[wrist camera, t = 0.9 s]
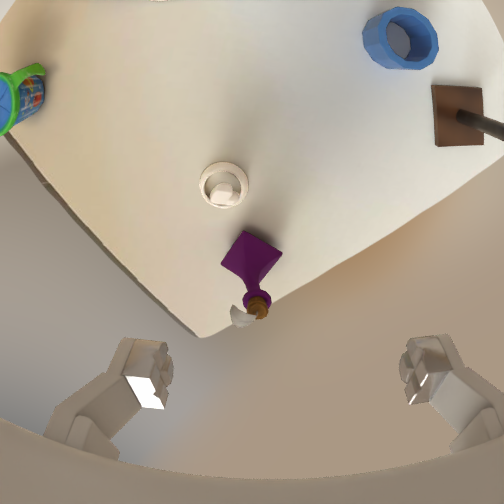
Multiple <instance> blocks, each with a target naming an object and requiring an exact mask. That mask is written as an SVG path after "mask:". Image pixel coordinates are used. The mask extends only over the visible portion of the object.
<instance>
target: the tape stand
mask: <svg viewBox="0 0 504 504" xmlns="http://www.w3.org/2000/svg"><path fill="white" fill-rule="evenodd" d="M431 89H432V100H433V112H434V129H435V145H436V146H438V147H444V146H467V145H484V133H486V134H488V135H491V136H493V137H495V138H498V139H500V140H502V141H504V123H501V122H499V121H496V120H493V119H490V118H487V117H484V116H483V96H482V88H478V87H465V86H445V85H431Z"/></svg>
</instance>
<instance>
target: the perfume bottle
mask: <svg viewBox="0 0 504 504" xmlns="http://www.w3.org/2000/svg"><path fill="white" fill-rule="evenodd" d="M282 254H283V253H282V252H281V251H279V250H277V249H276V248H274V247H272V246H270V245H269V244H267V243H265V242H263V241H262V240H260V239H258V238H256V237H255V236H253V235H251V234H249V233H248V232H246V231H242V233H241V234H240V236H239V237H238V239H237V240H236V242H235V243H234V244H233V246H232V247H231V249H230V250H229V252H228V253H227V255H226V256H225V257H224V259H223V260H222V262H221V265H222V266H224V267H225V268H227V269H228V270H230V271H232V272H233V273H235V274H236V275H237V276H239V277H240V278H241V279H242V280H243V282H244V283H245V285H246V288H247V291H248V292H247V293H245V295H244V297H243V299H242V300H243V305H244V307H245V308H246V309H247V313H245V312H243V311H241V310H239V309H238V308H237V307H236V306H234V305H232V307H231V309H230V315H231V320H232V323H233V324H234V325H235V326H237V327H240V328H241V327H245V326H247V325H249V324H250V323H252V322H253V321H254V320H255V319H263V318H264V317H266V316H267V314H268V309H269V307H270V305H271V303H272V302H271V296H270V295H269V294H268V293H267V292H266V291H264V290H261V289H260V286H259V283H260V282H261V280H262V279H263V278H264V277H265V276H266V274H267V273H268V272H269V271H270V269H271V268H272V267H273V266H274V264H275V263H276V262H277V261H278V259H279V258H280V257H281V256H282Z"/></svg>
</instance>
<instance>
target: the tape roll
mask: <svg viewBox="0 0 504 504" xmlns="http://www.w3.org/2000/svg"><path fill="white" fill-rule="evenodd" d="M389 22H394V23H396V24H397V25H399V26H400V27H402V28H403V29H404V30H405V32H406V33H407V35H408V36H409V38H410V44H411V50H410V52H409V54H408V56H407V58H405V59H403V58H401V57H400V56H398V55H397V54H395V53H394V51H393V50H392V48H391V47H390V45H389V44H388V42H387V34H386V27H387V25H388V23H389ZM362 35H363V43H364V48H365V49H366V51H367V52H368V53H369V55H370V56H371V58H372V59H373V60H374V61H375V62H377V63H379V64H380V65H382V66H384V67H385V68H389V69H412V70H421V69H423V68H425V67H426V66H428V65H430V64H432V63H433V62H434V59H435V57H436V55H437V53H438V51H439V47H438V38H437V33H436V31H435V30H434V28H433V26H432V25H431V23H430V22H429V20H428V19H427V18H426V17H424V16H423V15H422V14H420V13H419V12H417V11H416V10H414V9H411V8H404V7H395V8H393V9H391V10H388V11H386V12H384V13H382V14H380V15H378V16H376V17H374V18H372V19H370V20H368V22H367V24H366V26H365V28H364V30H363V33H362Z"/></svg>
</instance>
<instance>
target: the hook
mask: <svg viewBox="0 0 504 504" xmlns="http://www.w3.org/2000/svg"><path fill="white" fill-rule="evenodd" d="M218 171H226V172H229V173H231V174H233V175H234V176H235V177H236V178H237V179H238V180H239V182H240V185H241V193H240V196H239V195H238V193H237V192H235V191H233V189H232V186H231V185H230V184H228V183H219V184H218V185H217V186H215V187H214V189H213V190H212V192H211V193H210V199H209V198H208V197H207V195H206V193H205V190H204V185H205V181H206V179H207V178H208V177H209V176H210V175H211V174H213V173H215V172H218ZM199 184H200V191H201V194H202V196H203V197H204V199H205V200H206V201H207V202H208V203H209V204H211V205H213V206H215V207H217V208H231V207H234V206H236V205H238V204H239V203H240V202H241V201H243V199H244V198H245V197H246V194H247V192H248V180H247V177H246V175H245V173H244V172H243V171H242V170H241V169H240V168H239V167H238V166H236V165H234V164H232V163H228V162H218V163H214V164H212V165H210V166H209V167H207V168H206V169H205V170H204V172H203V173H202V175H201V178H200V183H199ZM219 204H223V205H219Z"/></svg>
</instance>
